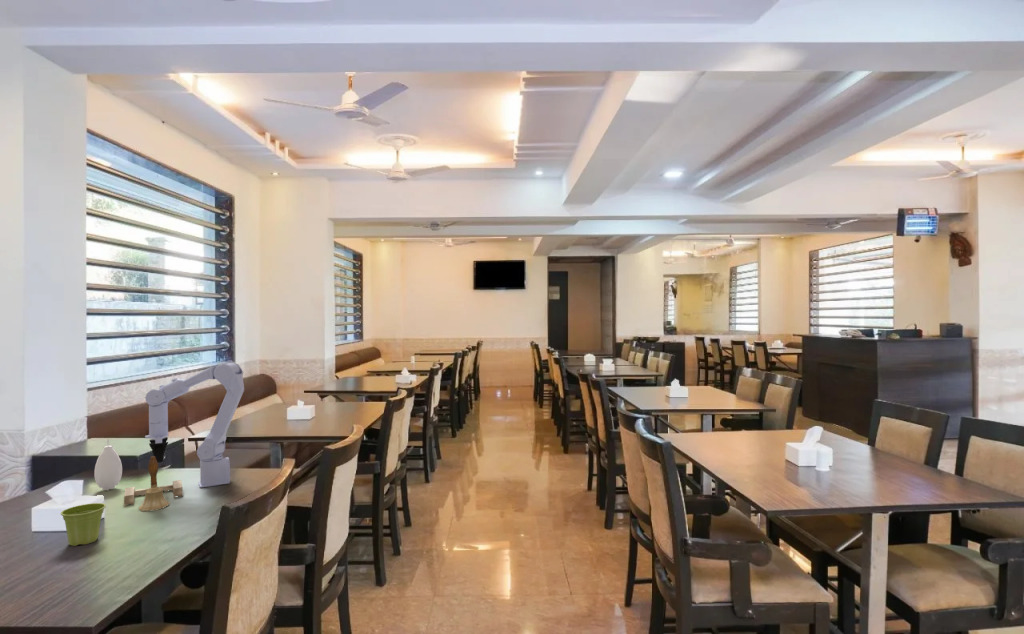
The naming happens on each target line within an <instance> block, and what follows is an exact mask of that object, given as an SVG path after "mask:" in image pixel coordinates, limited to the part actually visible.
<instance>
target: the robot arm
mask: <svg viewBox="0 0 1024 634" xmlns="http://www.w3.org/2000/svg"><path fill="white" fill-rule="evenodd" d="M243 376H244V371H243V369H242V368H241V366H240V365H239V364H238V363H237V362H228V363H220V364H218V365H215V366H211V367H208V368H205V369H204V370H202V371H200V372H198V373H196V374H194V375H192V376H190V377H188V378H186V379H183V378H173V379H171V382H169V383H167V384H165V385H164V384H162V385H159V388H155V389H154V388H153V389H151V390H149V391H148V392H147V393H146V395H145V397H144V398H145V402H146V403H147V404H148V435H145V436H144V438H145V439H149V440H148V441H149V444H148V445H149V447H150V449H151V451H152V453H153V456H155V457H156V460H157V462H158V464H160V463H163V461H164V458H165V451H166V449H167V446H168V444H169V441H168V438H169V435H170V434H169V409H168V406H169V402H170V401H172V400H173V399H175V398H176V399H177V398H178V397H180V396H182V395H185V394H187V393H188V392H189V391H190V388H191V387H194V386H196V385H198V384H200V383H203V382H205V381H208V380H216V381H218V382H219V383H220V384H221V385H223V387H224V388H225V390H226V393H225V396H224V398H223V401H222V403H221V405H220V408H219V410H218V411H217V412H218V413H217V415H216V417H215V419H214V422H213V424H212V427H211V429H210V431H209V433H208V434H207V435H206V437H205V438H204V440H203V442H202V443H201V444H200V445H199V446H198V448H197V449H196V455H197V457H198V458H199V461H200V462H199V470H200V471H199V472H200V474H199V476H200V481H198V486H199V488H208V487H215V486H220V485H227V484H231V480H230V479H231V471H230V469H231V468H230V465H231V464H230V458H229V457H228V456H227V457H224V456H223V453H224V451H225V450H226V440H227V435H226V434H227V432H228V430H229V428H230V425H231V423H232V420H233V417H234V415H235V412H236V410H237V408H238V406H239V404H240V401H241V398H242V396H243V394H244V392H245V385H244V383H245V382H244V378H243Z"/></svg>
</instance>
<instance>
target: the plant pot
mask: <svg viewBox="0 0 1024 634" xmlns="http://www.w3.org/2000/svg"><path fill="white" fill-rule="evenodd" d="M106 506H107V505H106V504H105V503H101V502H100V503H98V502H97V503H96V502H94V503H92V502H91V503H85V504H81V505H75V506H72V507H71V506H70V507H68V508H66V509H64V510H62V511H60V516H62V519H63V520H64V523H65V524H64V525H65V529H66V534H67V543H68V545H70V546H75V547H76V546H78V545H88V544H91V543H94V542H96V541H97V540H98V539H99V535H100V529H101V521H102V517H103V513H104V509H106V508H107V507H106Z"/></svg>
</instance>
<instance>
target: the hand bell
mask: <svg viewBox="0 0 1024 634" xmlns="http://www.w3.org/2000/svg"><path fill="white" fill-rule="evenodd" d="M147 467H148V468H147V470H148V473H149V476H150V487H149V488H150V489H149V490H147V491H146V494H145V495H144V500H143V502H142V504H140V506H139V507H138V509H139V510H141V511H140V512H151V511H150V510H154V511H157V510H156V509H159V510H161V508H163V507H165V508H167V507H166V506H168V505H169V504H171V503H170V502H169V501H167V499H166V498H165V496H164V492H163V490H162V488H158V487H159V486H158V478H157V477H158V475H157V474H158V471H159V463H158V462H157V460H156V457H155V456H154V455H153V456H150V459H149V461H148V465H147ZM169 506H170V505H169ZM169 506H168V507H169ZM163 509H164V508H163ZM139 510H138V511H139Z"/></svg>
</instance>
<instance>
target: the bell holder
mask: <svg viewBox="0 0 1024 634" xmlns="http://www.w3.org/2000/svg"><path fill="white" fill-rule="evenodd" d="M135 487H136V486H130V487H125V490H124V496H123V502H124V503H123V506H124V505H125V506H128V505H127V504H131V505H134V503H135V498H134V497H139V496H138V495H141V496H145V495H144V494H146V491H147V490H149V489H150V488H151V487H148V488H141V489H136V488H135ZM157 487H158V488H162V490H163V491H167V492H169V491H168V490H173V491H172V493H173V494H174V495H173V498H174V497H175V496H181V497H183V496H184V495H183V483H182V480H181V479H179V480H173V481H172V484H169V485H168V484H166V485H161V486H157ZM175 498H176V497H175Z"/></svg>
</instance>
